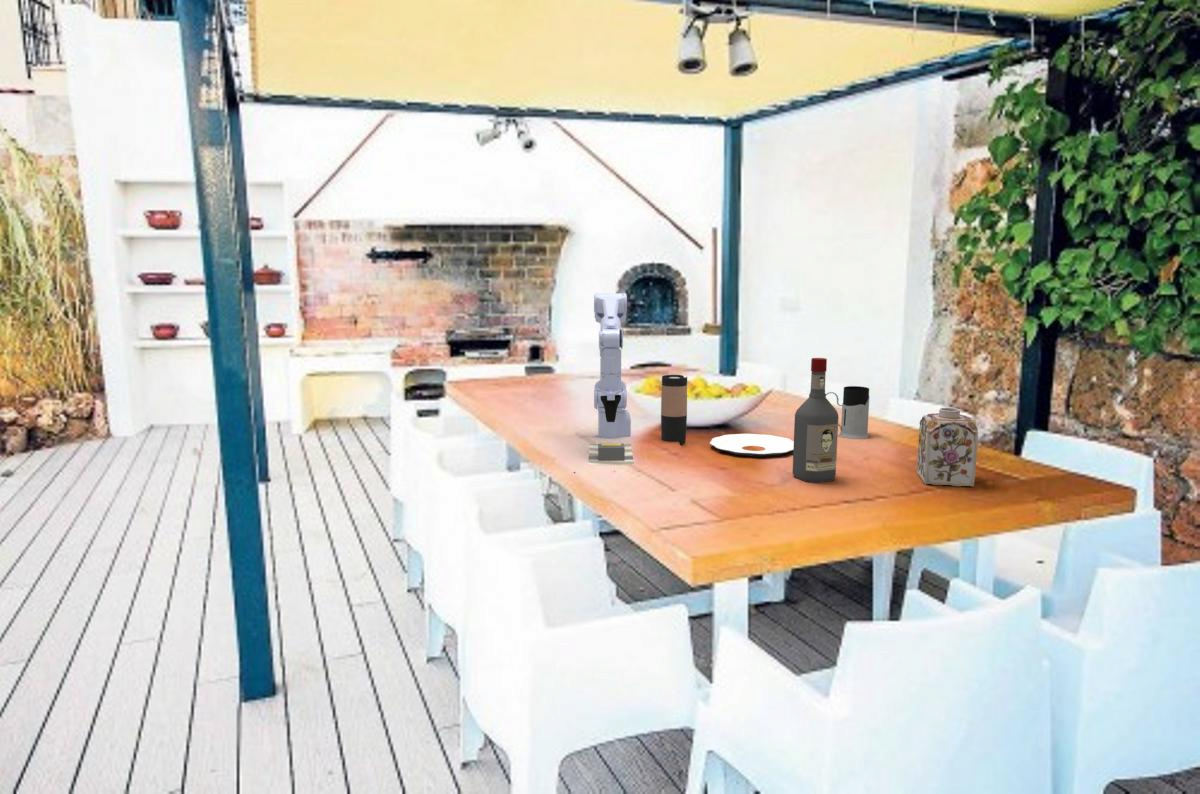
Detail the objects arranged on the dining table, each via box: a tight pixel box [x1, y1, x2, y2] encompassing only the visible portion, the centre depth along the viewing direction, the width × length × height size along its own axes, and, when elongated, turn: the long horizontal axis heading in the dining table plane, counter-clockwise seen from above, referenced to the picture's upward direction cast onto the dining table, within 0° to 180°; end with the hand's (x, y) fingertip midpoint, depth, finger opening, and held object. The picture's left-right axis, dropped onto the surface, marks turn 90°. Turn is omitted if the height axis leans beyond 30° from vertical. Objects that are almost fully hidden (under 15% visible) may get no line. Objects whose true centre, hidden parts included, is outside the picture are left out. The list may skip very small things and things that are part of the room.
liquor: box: [792, 357, 840, 484], centre depth 203 cm, size 9×9×30 cm
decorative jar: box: [916, 407, 979, 487], centre depth 201 cm, size 12×12×18 cm
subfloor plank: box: [587, 443, 635, 466], centre depth 225 cm, size 24×12×1 cm, turn 0°
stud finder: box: [597, 442, 625, 461], centre depth 220 cm, size 5×7×4 cm
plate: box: [709, 433, 794, 457], centre depth 236 cm, size 25×25×2 cm
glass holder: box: [825, 385, 870, 440], centre depth 252 cm, size 9×14×15 cm, turn 89°
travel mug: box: [660, 374, 688, 446], centre depth 242 cm, size 8×8×20 cm
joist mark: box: [587, 455, 634, 460], centre depth 220 cm, size 4×12×1 cm, turn 90°
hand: (610, 421), depth 226 cm, fingers closed
